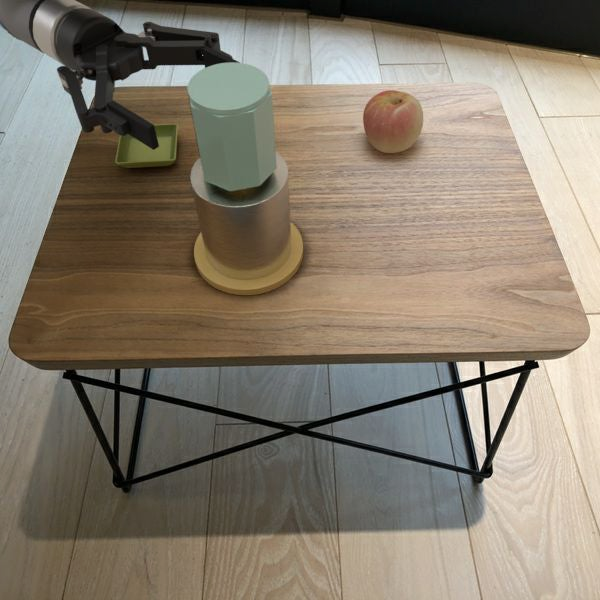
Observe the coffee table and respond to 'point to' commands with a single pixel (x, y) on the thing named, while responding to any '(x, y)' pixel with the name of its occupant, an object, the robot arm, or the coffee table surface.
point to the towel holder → (246, 234)
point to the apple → (393, 121)
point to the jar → (233, 124)
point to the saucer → (148, 149)
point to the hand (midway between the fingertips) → (202, 106)
